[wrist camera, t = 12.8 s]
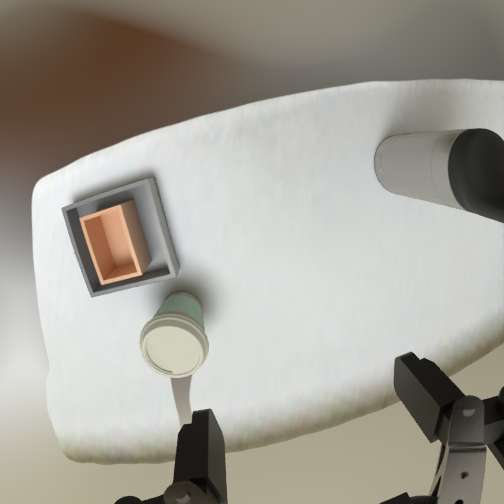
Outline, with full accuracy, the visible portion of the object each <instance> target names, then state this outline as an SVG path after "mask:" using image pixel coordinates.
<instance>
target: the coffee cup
mask: <svg viewBox="0 0 504 504" xmlns="http://www.w3.org/2000/svg"><path fill="white" fill-rule="evenodd" d="M140 348H141V352H142V356H143V358H144V360H145V362H146V363H147V365H148V366H149V367H150V368H151V369H153V370H154V371H155V372H157V373H159V374H161V375H163V376H166V377H172V378H181V377H186V376H189V375H191V374H193V373H194V372H196V371H197V370H198V369H199V368H200V366H201V365H202V364H203V363H204V361H205V360H206V357H207V355H208V351H209V342H208V338H207V336H206V334H205V329H204V322H203V314H202V308H201V304H200V302H199V300H198V299H197V298H196V297H195V296H193V295H192V294H190V293H187V292H176V293H173V294H171V295H170V296H169V297H168V298H167V299H166V300H165V302H164V303H163V304H162V306H161V307H160V308H159V310H158V311H157V313H156V314H155V315H154V317H153V318H152V319H151V320H150V321H148V322H147V323H146V324H145V326H144V327H143V329H142V331H141V335H140Z"/></svg>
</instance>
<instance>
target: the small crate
mask: <svg viewBox="0 0 504 504" xmlns="http://www.w3.org/2000/svg"><path fill="white" fill-rule="evenodd" d="M79 219H80V222H81V226H82V229H83V232H84V236H85V239H86V242H87V245H88V248H89V251H90V254H91V257H92V260H93V263H94V266H95V269H96V272H97V274H98V277H99V280H100V283H101V285H104V284H108V283H112V282H116V281H120V280H124V279H128V278H132V277H136V276H140V275H143V273H144V272H145V270H146V269H147V267H148V266H149V265H150V263H151V262H152V258H151V255H150V252H149V249H148V246H147V242H146V239H145V236H144V232H143V229H142V226H141V222H140V219H139V215H138V211H137V208H136V204H135V200H134V199H133V200H129V201H126V202H123V203H120V204H117V205H114V206H110V207H107V208H104V209H101V210H98V211H96V212H93V213H91V214H88V215H86V216H83V217H81V218H79Z"/></svg>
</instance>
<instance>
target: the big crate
mask: <svg viewBox="0 0 504 504" xmlns="http://www.w3.org/2000/svg"><path fill="white" fill-rule="evenodd" d="M133 199H134V200H135V204H136V208H137V211H138V215H139V219H140V222H141V226H142V229H143V232H144V236H145V239H146V242H147V246H148V249H149V252H150V255H151V258H152V262H151V263H150V265H149V266H148V267H147V269H146V270H145V272H144V273H143V275H140V276H136V277H132V278H128V279H124V280H120V281H116V282H112V283H108V284H104V285H101V283H100V280H99V277H98V274H97V272H96V269H95V266H94V263H93V260H92V257H91V254H90V251H89V248H88V245H87V242H86V239H85V236H84V232H83V229H82V226H81V222H80V219H79V218H81V217H83V216H86V215H88V214H91V213H93V212H96V211H98V210H101V209H104V208H107V207H110V206H114V205H117V204H120V203H123V202H126V201H129V200H133ZM62 212H63V216H64V219H65V223H66V226H67V229H68V233H69V236H70V239H71V242H72V245H73V248H74V251H75V254H76V257H77V260H78V263H79V266H80V269H81V272H82V274H83V277H84V280H85V283H86V285H87V288H88V290H89V293H90V295H91V297H96V296H100V295H104V294H108V293H112V292H117V291H121V290H125V289H129V288H133V287H138V286H142V285H146V284H150V283H154V282H158V281H163V280H167V279H171V278H175V277H177V274H178V271H179V269H180V266H179V263H178V259H177V256H176V253H175V249H174V246H173V243H172V239H171V236H170V232H169V229H168V225H167V221H166V218H165V214H164V211H163V207H162V203H161V199H160V196H159V192H158V188H157V184H156V180H155V177H153V178H148V179H144V180H141V181H138V182H135V183H131V184H128V185H125V186H122V187H119V188H116V189H113V190H110V191H107V192H104V193H101V194H98V195H95V196H93V197H90V198H87V199H84V200H81V201H79V202H76V203H73V204H71V205H68V206H65V207H63V208H62Z"/></svg>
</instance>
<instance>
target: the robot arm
mask: <svg viewBox="0 0 504 504" xmlns="http://www.w3.org/2000/svg"><path fill="white" fill-rule="evenodd" d="M374 165H375V172H376V176H377V178H378V180H379V182H380V183H381V184H382V186H383V187H384V188H385V189H386V190H388V191H389V192H391V193H394V194H398V195H402V196H407V197H411V198H415V199H420V200H424V201H428V202H432V203H436V204H441V205H445V206H448V207H453V208H457V209H461V210H464V211H468V212H471V213H475V214H478V215H481V216H483V217H486V218H490V219H493V220H496V221H499V222H502V223H504V141H503V139H502V138H501V137H500V136H499V135H498V134H496V133H495V132H493V131H491V130H488V129H481V128H478V129H460V130H447V131H434V132H423V133H413V134H403V135H395V136H391V137H388V138H386V139H385V140H384V141H383V142H382V143H381V144H380V145H379V147H378V149H377V151H376V154H375V160H374ZM394 388H395V391H396V394H397V395H398V397H399V398H400V400H401V401H402V403H403V404H404V405H405V407H406V408H407V410H408V411H409V412H410V414H411V415H412V417H413V418H414V420H415V421H416V423H417V424H418V425H419V427H420V428H421V430H422V431H423V433H424V434H425V436H426V437H427V439H428V440H429V442H430V443H432V442H434V441H436V440H438V439H439V440H440V441H441V443H442V444H441V447H440V453H439V457H438V462H437V467H436V471H435V476H434V480H433V483H432V486H431V489H430V492H429V495H428V496H414V497H409V496H408V494H407V492H406V493H403V494H401V495H399V496H396V497H394V498H392V499H389V500H387V501H384V502H382V503H380V504H480V500H481V494H482V488H483V480H484V472H485V463H486V451H487V450H486V446H484V445H487V446H488V448H489V449H490V450H491V452H492V453H493V455H494V456H495V458H496V459H497V461H498V462H499V464H500V465H501V467H502V468H503V470H504V387H502V389H501V391H500V393H499V395H498V396H495V397H492V398H488V399H484V400H481V399H479V398H478V397H476V396H472V395H467V396H465V395H464V394H463V393H462V391H461V390H460V389H459V388H458V387H457V386H456V385H455V384H454V383H453V382H452V381H451V380H450V379H449V378H448V377H447V376H446V374H445V373H444V372H443V371H441V370H440V368H439V367H438V366H437V365H436V364H435V363H434V362H432V361H430V360H428V359H426V358H423V359H421V360H420V359H419V358H418V357H417V356H416V355H415V354H414V353H413V352H409V353H406V354H404V355H401V356H399V357H396V358H395V365H394ZM176 452H177V453H176V458H175V468H174V478H173V479H174V480H173V483H172V484H171V485H170V486H169V487H168V488H167V489H166V490H165V492H164V494H163V495H160V496H158V497H155V498H151V499H148V500H144V501H141V500H140V499H139V498H137V497H134V496H125V497H123V498H120V499H119V500H117V501H116V502H115V503H114V504H228V503H227V486H226V466H225V444H224V437H223V434H222V431H221V429H220V427H219V424H218V422H217V420H216V418H215V416H214V414H213V411H212V410H211V409H205V410H199V411H193V414H192V423H191V424H184V425H183V427H182V428H181V430H180V432H179V433H178V440H177V449H176Z"/></svg>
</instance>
